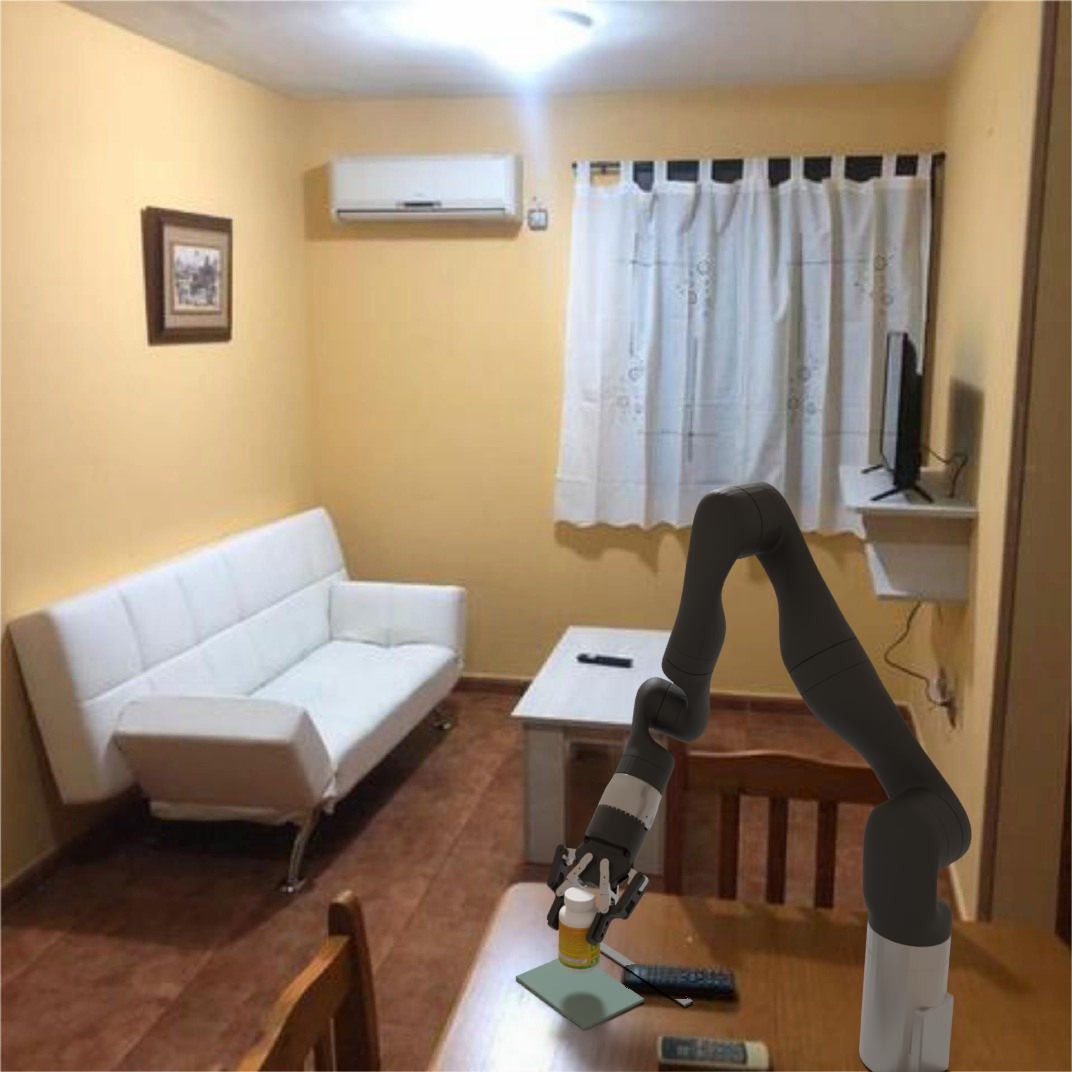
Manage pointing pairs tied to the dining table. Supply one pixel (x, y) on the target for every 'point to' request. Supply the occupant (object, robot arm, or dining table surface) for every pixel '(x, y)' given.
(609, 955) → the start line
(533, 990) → the mat
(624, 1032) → the dining table surface
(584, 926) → the supplement bottle
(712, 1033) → the dining table surface
